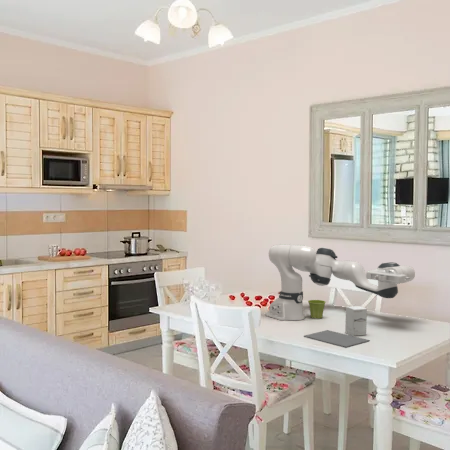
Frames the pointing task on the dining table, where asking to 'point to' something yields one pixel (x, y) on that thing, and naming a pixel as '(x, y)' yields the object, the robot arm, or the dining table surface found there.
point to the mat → (336, 338)
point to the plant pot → (316, 308)
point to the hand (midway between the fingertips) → (376, 278)
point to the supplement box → (356, 320)
